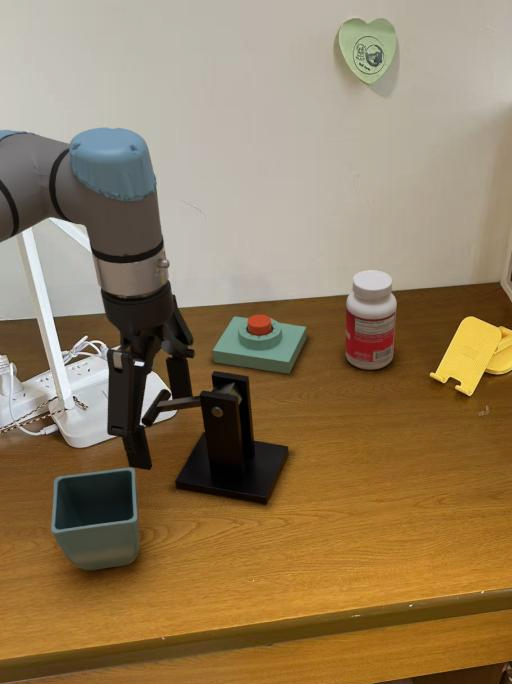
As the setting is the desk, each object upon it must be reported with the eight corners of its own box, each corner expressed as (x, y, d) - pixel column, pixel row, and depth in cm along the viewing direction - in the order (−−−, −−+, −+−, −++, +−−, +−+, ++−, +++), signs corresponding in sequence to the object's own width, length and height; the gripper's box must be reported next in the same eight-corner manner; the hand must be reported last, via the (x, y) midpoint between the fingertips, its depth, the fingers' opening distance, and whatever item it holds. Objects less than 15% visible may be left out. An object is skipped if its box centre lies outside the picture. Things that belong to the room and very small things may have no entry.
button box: (213, 362, 118) (211, 340, 115) (235, 327, 125) (233, 306, 122) (289, 374, 116) (288, 351, 114) (306, 338, 123) (306, 316, 121)
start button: (244, 335, 117) (244, 325, 116) (252, 322, 120) (251, 312, 118) (267, 338, 117) (267, 328, 115) (274, 325, 119) (274, 316, 118)
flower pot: (147, 519, 94) (134, 465, 88) (150, 574, 88) (137, 520, 81) (72, 530, 92) (53, 476, 86) (70, 587, 86) (50, 533, 80)
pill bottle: (353, 340, 123) (355, 263, 114) (398, 349, 122) (404, 271, 113) (338, 366, 118) (339, 287, 109) (385, 375, 117) (390, 296, 107)
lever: (146, 430, 95) (137, 415, 93) (165, 401, 99) (156, 386, 98) (231, 419, 90) (223, 402, 89) (247, 389, 95) (239, 373, 93)
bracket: (176, 488, 98) (159, 402, 88) (204, 438, 105) (191, 354, 95) (266, 504, 96) (259, 419, 87) (288, 453, 103) (285, 368, 94)
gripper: (117, 351, 74) (150, 504, 89) (208, 236, 92) (223, 380, 107) (45, 339, 75) (90, 493, 90) (149, 228, 93) (172, 371, 108)
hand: (163, 432), depth 99 cm, fingers open, 13 cm apart
